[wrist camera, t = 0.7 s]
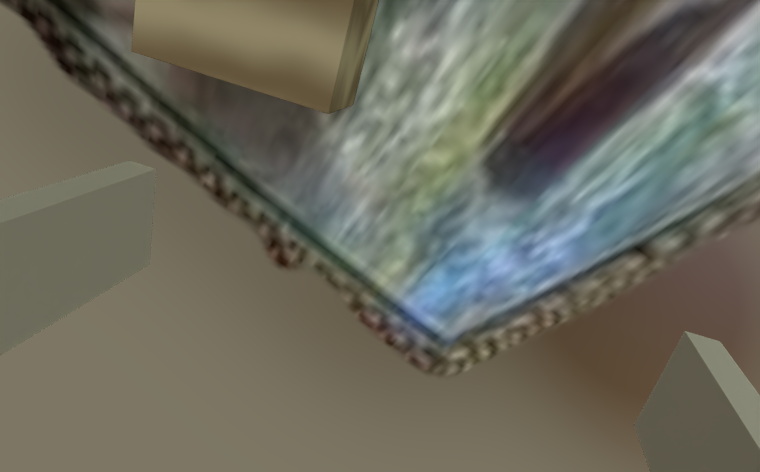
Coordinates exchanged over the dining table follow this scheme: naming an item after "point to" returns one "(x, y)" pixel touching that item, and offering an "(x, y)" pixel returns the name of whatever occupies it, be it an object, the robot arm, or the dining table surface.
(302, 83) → the birch block
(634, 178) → the dining table surface
